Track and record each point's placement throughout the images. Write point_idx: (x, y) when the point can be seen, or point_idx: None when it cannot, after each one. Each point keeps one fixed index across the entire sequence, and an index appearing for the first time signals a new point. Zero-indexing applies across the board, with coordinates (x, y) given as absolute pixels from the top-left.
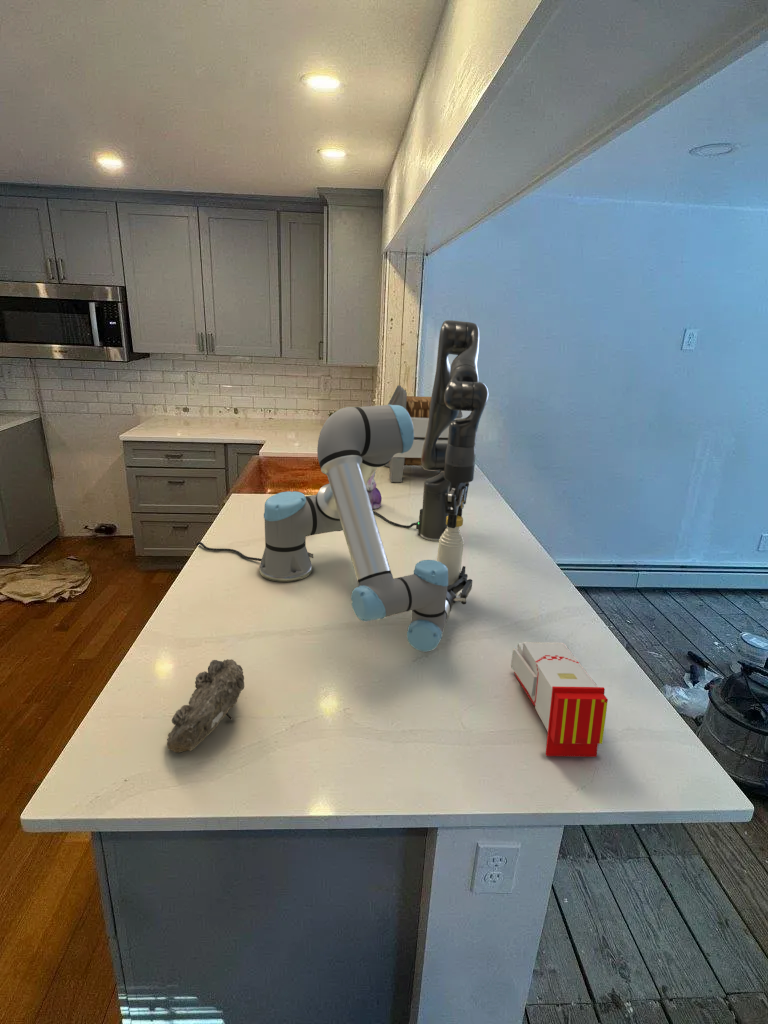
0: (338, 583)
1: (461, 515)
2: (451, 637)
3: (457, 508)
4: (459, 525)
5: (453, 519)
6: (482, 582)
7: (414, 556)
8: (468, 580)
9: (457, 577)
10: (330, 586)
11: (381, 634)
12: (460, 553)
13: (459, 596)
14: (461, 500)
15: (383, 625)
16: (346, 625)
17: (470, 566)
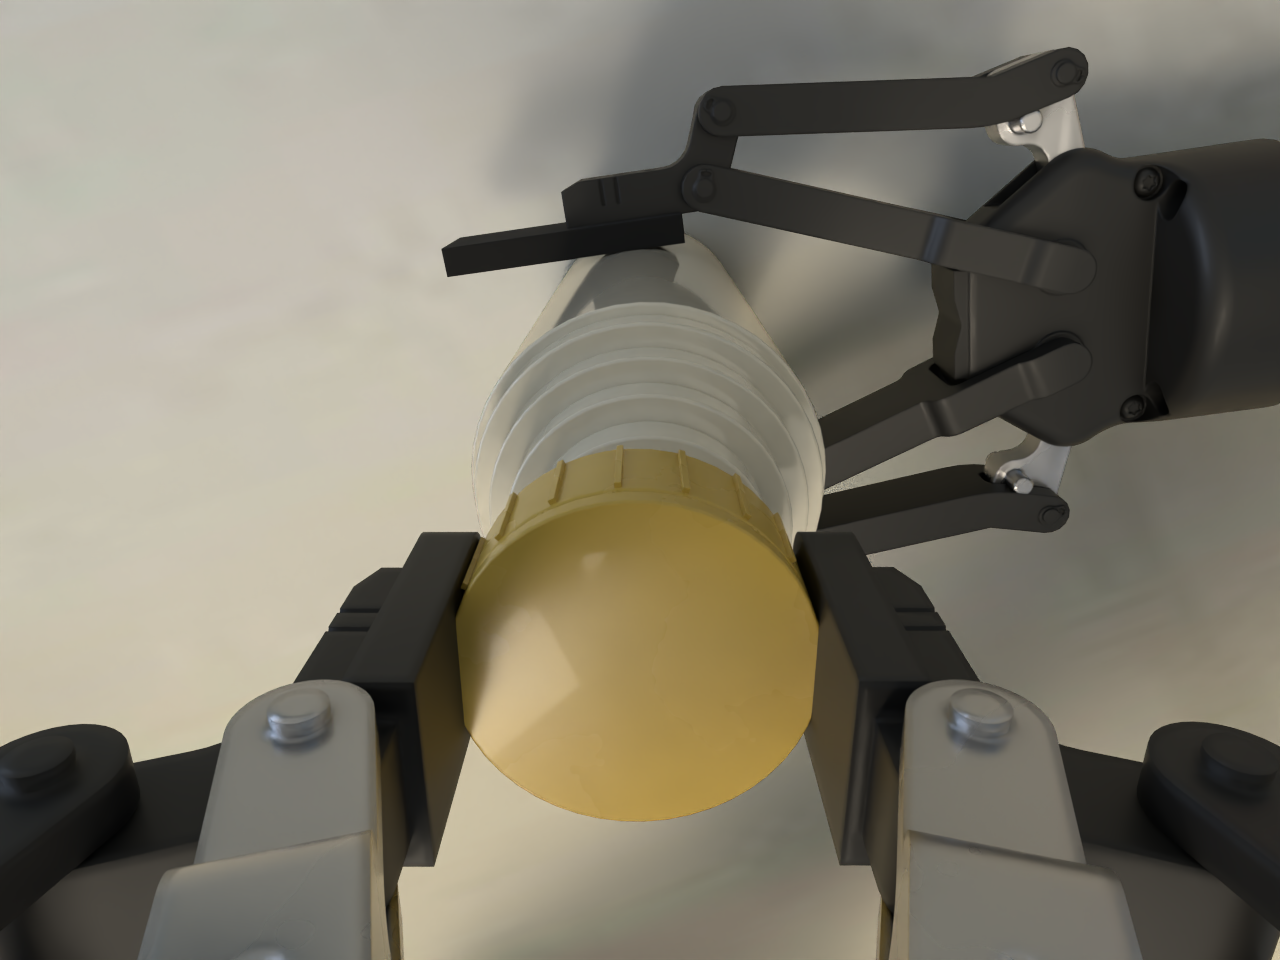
0: (772, 927)
1: (415, 591)
2: (1196, 94)
3: (1003, 816)
4: (741, 485)
5: (965, 663)
6: (222, 116)
7: (144, 713)
8: (736, 127)
9: (693, 256)
10: (825, 943)
11: (1273, 521)
12: (706, 295)
13: (1048, 124)
14: (377, 943)
15: (1166, 549)
16: (1223, 716)
17: (2, 298)
